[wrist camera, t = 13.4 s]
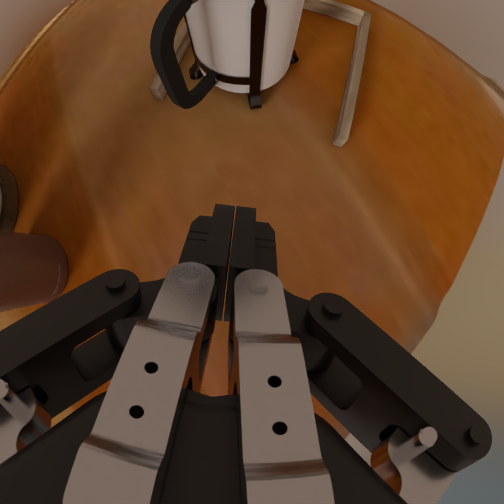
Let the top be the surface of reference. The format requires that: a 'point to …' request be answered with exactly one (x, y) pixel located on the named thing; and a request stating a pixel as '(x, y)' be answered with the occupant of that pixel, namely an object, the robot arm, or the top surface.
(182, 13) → the coffee press
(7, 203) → the wooden container
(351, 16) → the birch stand
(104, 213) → the top surface
